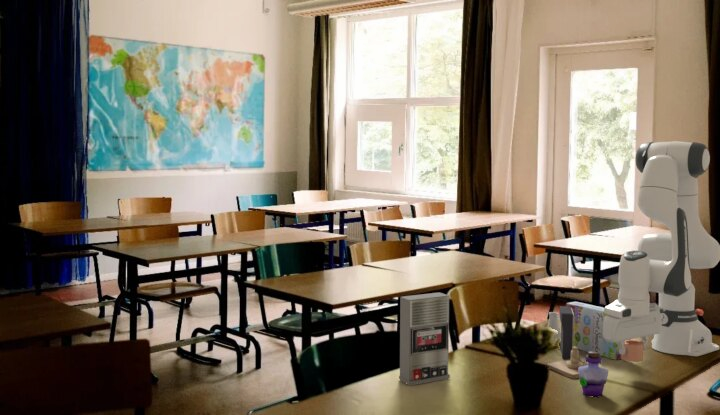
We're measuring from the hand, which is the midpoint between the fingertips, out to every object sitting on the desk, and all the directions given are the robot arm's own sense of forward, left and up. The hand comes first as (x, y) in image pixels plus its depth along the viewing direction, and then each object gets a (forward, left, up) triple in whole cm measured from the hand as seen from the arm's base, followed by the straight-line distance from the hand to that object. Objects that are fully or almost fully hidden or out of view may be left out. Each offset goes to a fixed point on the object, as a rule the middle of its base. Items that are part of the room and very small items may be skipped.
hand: (632, 352), depth 227 cm
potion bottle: (+21, +6, -8) cm, 23 cm away
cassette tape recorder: (+57, -24, -8) cm, 62 cm away
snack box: (-9, -25, -8) cm, 28 cm away
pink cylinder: (0, 0, -2) cm, 2 cm away
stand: (+11, -12, -8) cm, 18 cm away
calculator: (+2, -26, -8) cm, 28 cm away
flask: (-5, -41, -8) cm, 43 cm away
